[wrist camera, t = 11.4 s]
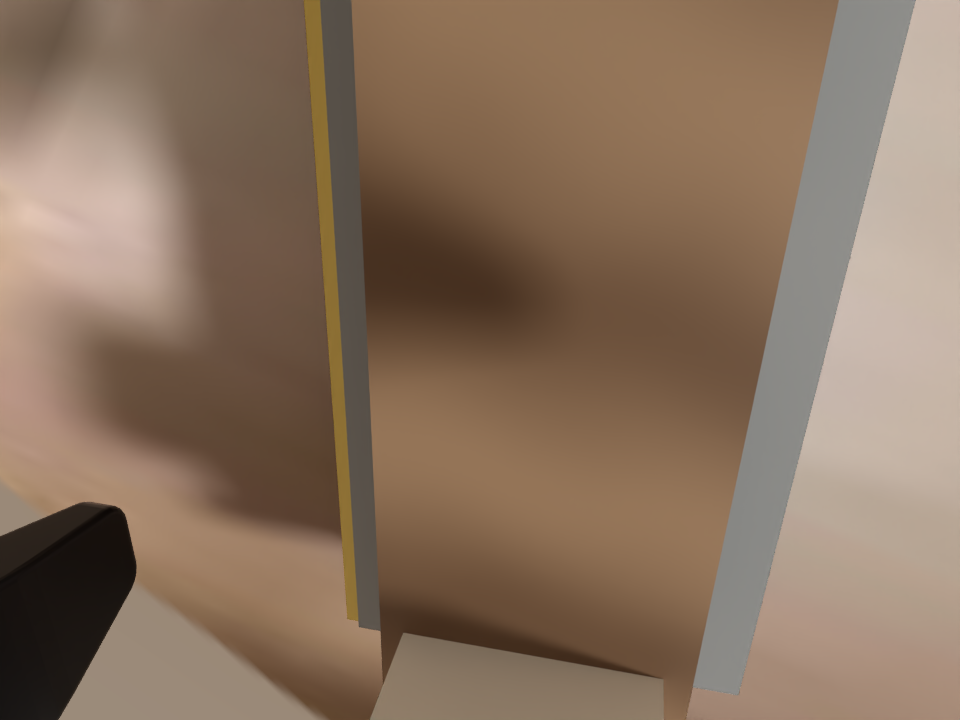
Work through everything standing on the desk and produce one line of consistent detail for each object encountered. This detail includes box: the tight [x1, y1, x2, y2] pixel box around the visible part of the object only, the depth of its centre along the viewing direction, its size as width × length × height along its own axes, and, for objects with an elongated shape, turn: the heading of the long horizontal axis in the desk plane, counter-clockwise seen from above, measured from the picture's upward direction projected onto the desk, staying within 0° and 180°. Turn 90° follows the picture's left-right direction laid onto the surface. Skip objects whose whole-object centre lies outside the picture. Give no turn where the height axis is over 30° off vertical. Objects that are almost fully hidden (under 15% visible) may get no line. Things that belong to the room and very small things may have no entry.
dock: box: [304, 0, 916, 695], centre depth 17 cm, size 22×10×3 cm, turn 179°
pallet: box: [351, 0, 839, 720], centre depth 13 cm, size 24×6×5 cm, turn 179°
